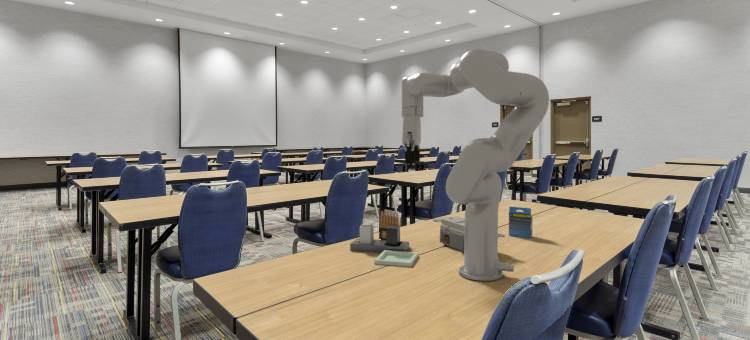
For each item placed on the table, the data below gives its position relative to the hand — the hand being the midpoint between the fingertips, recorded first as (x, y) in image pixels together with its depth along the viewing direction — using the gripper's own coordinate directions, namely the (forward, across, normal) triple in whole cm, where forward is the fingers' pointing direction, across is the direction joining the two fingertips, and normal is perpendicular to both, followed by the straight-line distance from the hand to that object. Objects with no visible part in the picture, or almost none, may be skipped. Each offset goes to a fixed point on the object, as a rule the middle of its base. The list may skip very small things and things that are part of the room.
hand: (412, 162), depth 143 cm
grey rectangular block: (+32, +1, -17) cm, 37 cm away
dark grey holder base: (+32, -3, -12) cm, 35 cm away
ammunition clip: (+33, -13, -12) cm, 37 cm away
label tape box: (+33, -35, +38) cm, 61 cm away
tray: (+32, +12, -3) cm, 35 cm away
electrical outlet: (+33, -10, +18) cm, 39 cm away
